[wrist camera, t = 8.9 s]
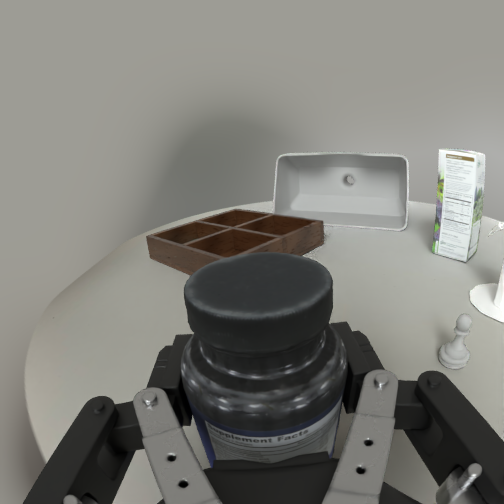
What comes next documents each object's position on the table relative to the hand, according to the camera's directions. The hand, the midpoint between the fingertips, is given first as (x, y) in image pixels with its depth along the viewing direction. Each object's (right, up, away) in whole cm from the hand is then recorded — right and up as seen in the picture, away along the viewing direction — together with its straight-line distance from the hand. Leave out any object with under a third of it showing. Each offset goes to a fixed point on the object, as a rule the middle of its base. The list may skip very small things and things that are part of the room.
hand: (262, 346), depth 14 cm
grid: (-3, +4, +32) cm, 32 cm away
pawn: (+15, -4, +5) cm, 16 cm away
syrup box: (+28, +4, +24) cm, 37 cm away
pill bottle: (+1, -7, 0) cm, 7 cm away
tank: (+18, +11, +46) cm, 51 cm away
